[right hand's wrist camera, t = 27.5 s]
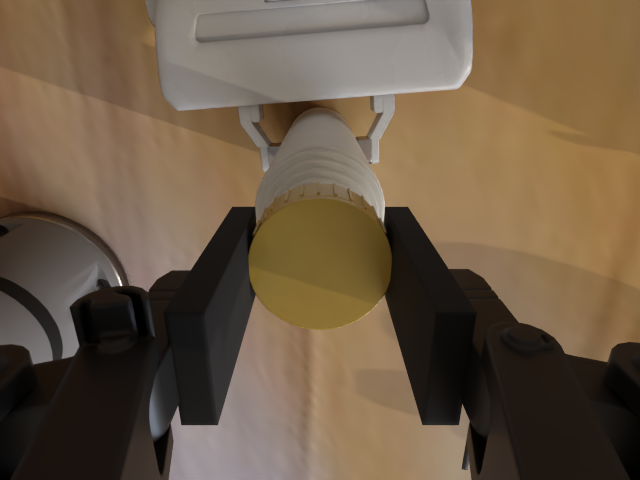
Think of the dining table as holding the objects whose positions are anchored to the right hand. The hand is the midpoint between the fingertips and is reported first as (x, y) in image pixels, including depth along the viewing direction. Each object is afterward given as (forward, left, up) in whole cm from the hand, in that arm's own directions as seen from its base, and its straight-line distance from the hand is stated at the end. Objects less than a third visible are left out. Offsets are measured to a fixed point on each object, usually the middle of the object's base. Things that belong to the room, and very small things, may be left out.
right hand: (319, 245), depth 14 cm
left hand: (+1, -1, -17) cm, 17 cm away
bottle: (0, 0, -24) cm, 24 cm away
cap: (0, 0, +2) cm, 2 cm away
